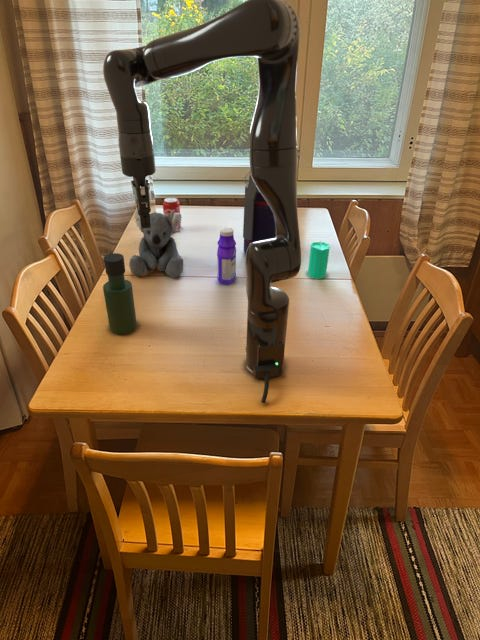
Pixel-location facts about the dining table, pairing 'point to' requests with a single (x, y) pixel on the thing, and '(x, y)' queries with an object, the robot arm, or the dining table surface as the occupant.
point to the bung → (114, 264)
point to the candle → (318, 260)
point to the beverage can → (171, 207)
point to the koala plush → (158, 246)
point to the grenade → (256, 216)
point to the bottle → (226, 256)
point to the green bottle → (120, 305)
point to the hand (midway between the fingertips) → (144, 221)
